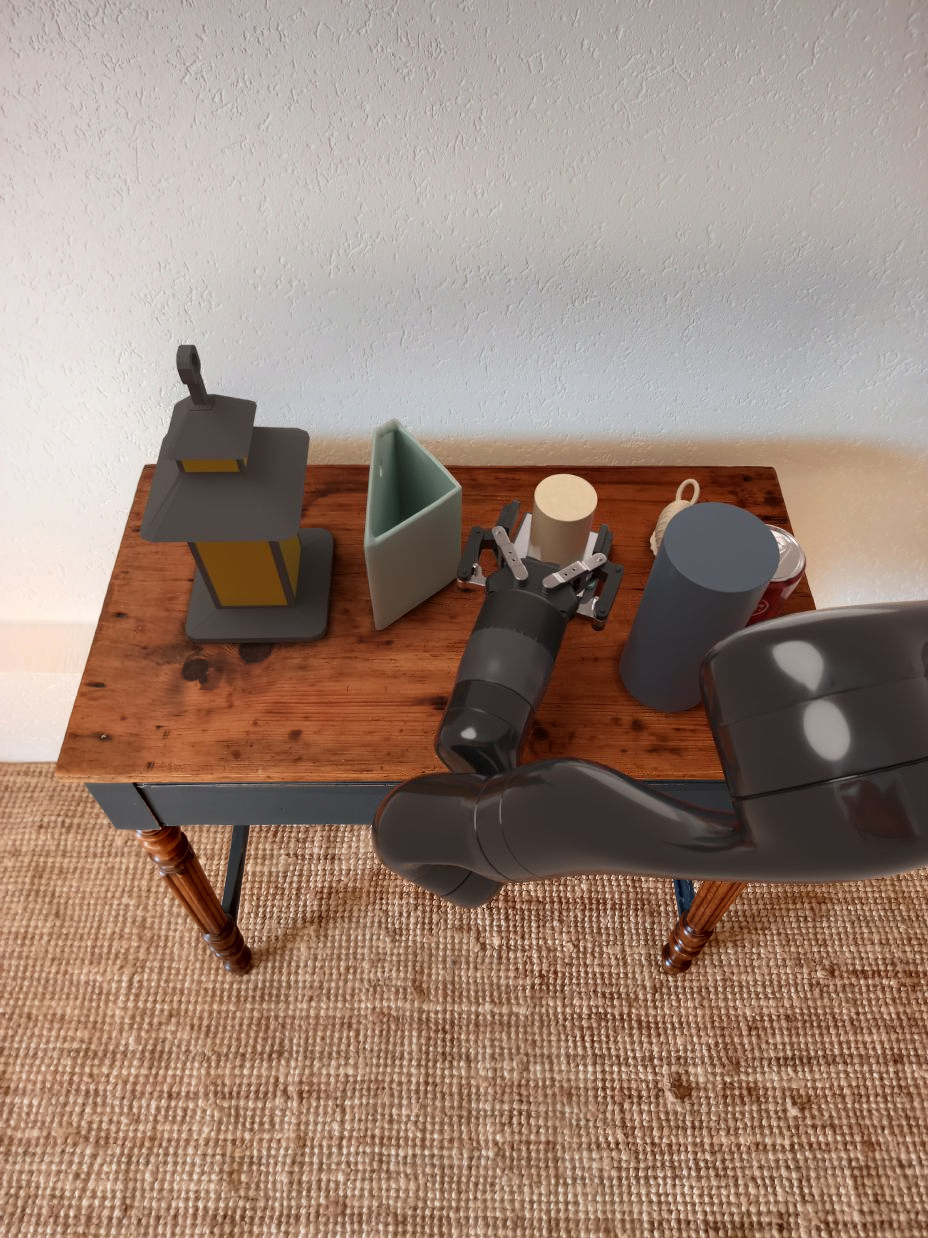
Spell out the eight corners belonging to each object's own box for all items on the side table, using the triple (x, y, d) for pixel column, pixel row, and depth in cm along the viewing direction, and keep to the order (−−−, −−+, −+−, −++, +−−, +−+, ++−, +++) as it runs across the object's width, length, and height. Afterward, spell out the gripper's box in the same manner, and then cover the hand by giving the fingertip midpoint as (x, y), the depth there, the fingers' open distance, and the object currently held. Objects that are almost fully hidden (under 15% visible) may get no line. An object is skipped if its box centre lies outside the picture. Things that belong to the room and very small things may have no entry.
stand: (718, 649, 81) (787, 520, 64) (701, 724, 76) (770, 606, 60) (631, 622, 83) (677, 489, 66) (609, 694, 78) (652, 571, 61)
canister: (591, 542, 85) (605, 483, 77) (574, 585, 82) (587, 528, 74) (537, 526, 86) (545, 466, 78) (519, 567, 83) (525, 510, 75)
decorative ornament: (639, 554, 87) (649, 522, 83) (671, 506, 91) (683, 473, 87) (673, 571, 86) (685, 539, 82) (704, 521, 90) (718, 488, 86)
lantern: (185, 643, 80) (64, 417, 55) (206, 534, 88) (108, 292, 63) (325, 641, 81) (269, 415, 56) (334, 533, 88) (288, 291, 63)
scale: (610, 549, 88) (614, 533, 85) (585, 620, 83) (589, 605, 80) (523, 524, 90) (525, 507, 87) (494, 592, 84) (495, 576, 82)
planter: (452, 638, 81) (452, 508, 65) (374, 630, 82) (355, 499, 65) (468, 515, 90) (472, 374, 74) (398, 509, 91) (387, 367, 74)
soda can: (723, 664, 80) (762, 595, 70) (680, 610, 83) (711, 537, 73) (780, 636, 82) (826, 565, 72) (735, 584, 85) (773, 510, 75)
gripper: (599, 659, 63) (642, 510, 71) (428, 609, 65) (489, 471, 73) (586, 703, 69) (626, 561, 77) (430, 656, 71) (486, 524, 80)
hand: (559, 517), depth 75 cm, fingers open, 8 cm apart
